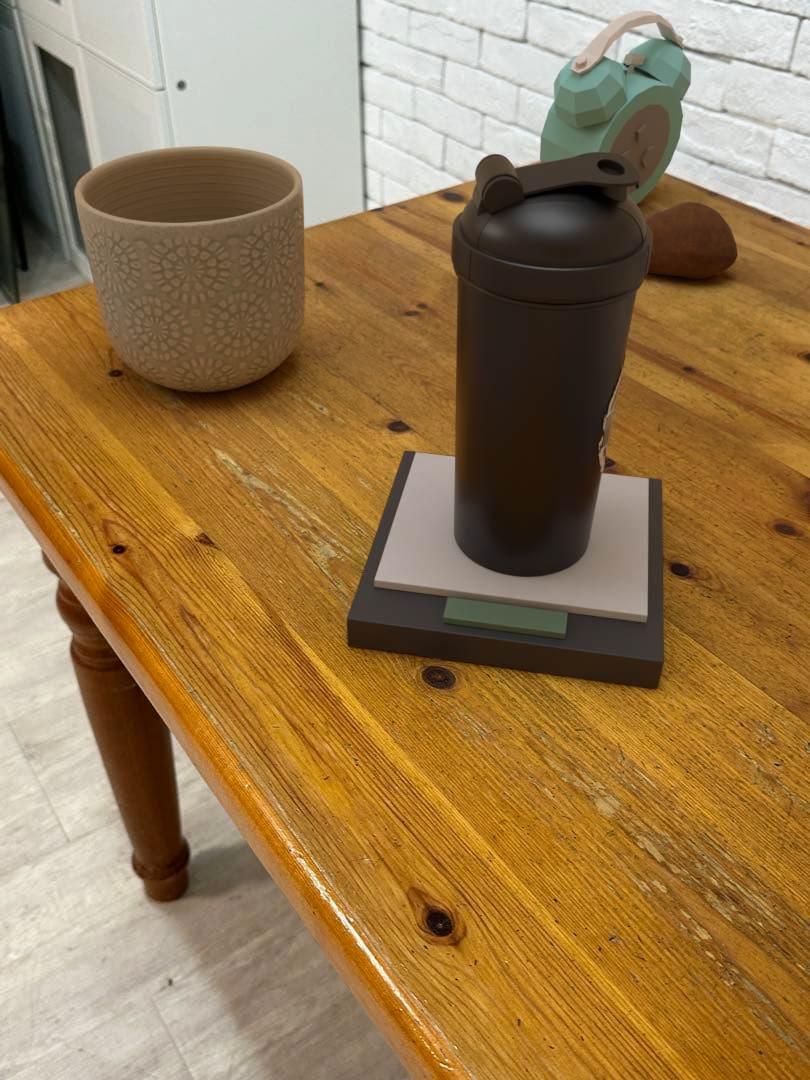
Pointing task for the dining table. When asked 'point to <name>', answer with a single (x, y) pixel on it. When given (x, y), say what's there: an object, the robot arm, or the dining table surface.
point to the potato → (690, 242)
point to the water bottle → (540, 352)
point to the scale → (515, 587)
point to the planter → (197, 262)
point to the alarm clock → (621, 101)
